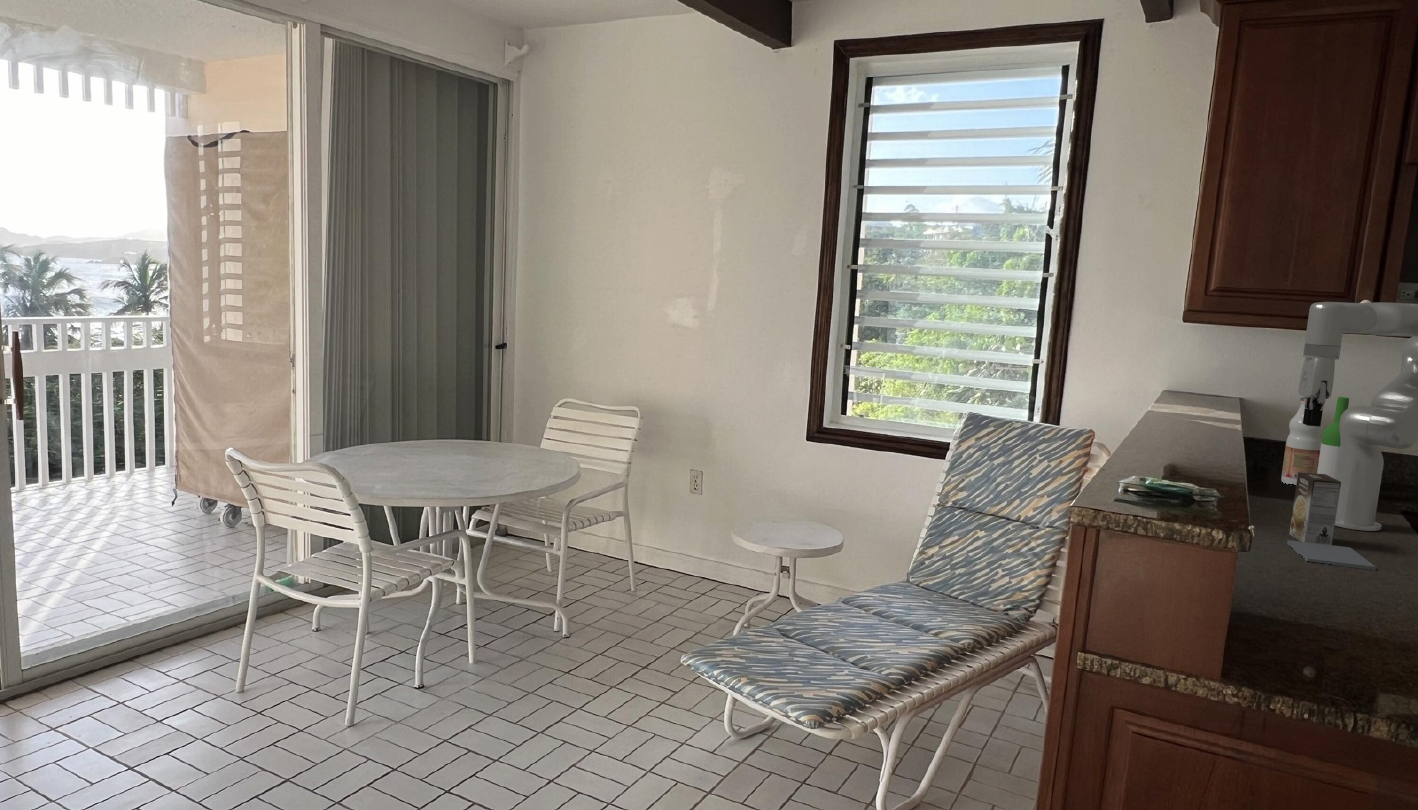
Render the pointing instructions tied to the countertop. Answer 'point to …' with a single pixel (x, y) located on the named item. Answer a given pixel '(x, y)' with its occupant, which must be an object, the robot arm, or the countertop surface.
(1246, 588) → the countertop surface
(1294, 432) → the fruit juice
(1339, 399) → the wine bottle
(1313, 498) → the coffee box
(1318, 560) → the rubber mat
